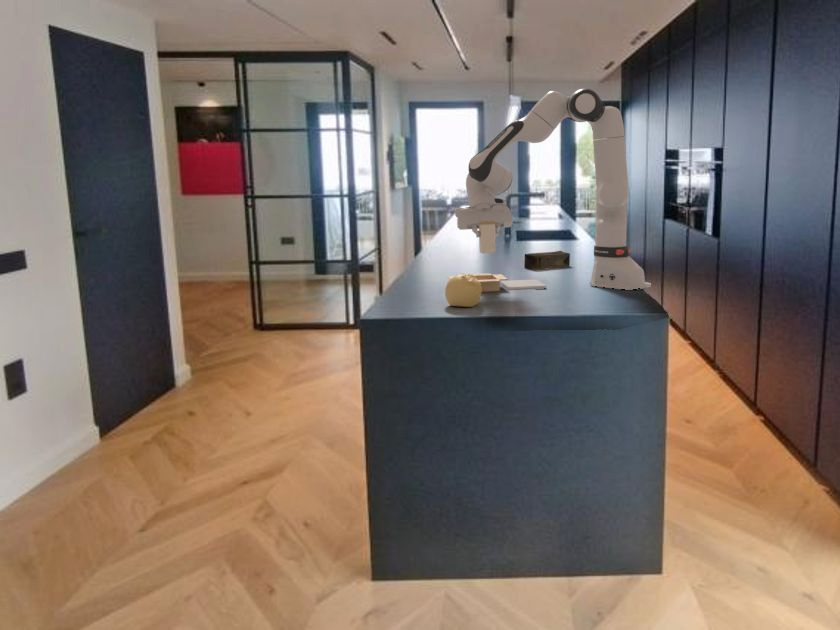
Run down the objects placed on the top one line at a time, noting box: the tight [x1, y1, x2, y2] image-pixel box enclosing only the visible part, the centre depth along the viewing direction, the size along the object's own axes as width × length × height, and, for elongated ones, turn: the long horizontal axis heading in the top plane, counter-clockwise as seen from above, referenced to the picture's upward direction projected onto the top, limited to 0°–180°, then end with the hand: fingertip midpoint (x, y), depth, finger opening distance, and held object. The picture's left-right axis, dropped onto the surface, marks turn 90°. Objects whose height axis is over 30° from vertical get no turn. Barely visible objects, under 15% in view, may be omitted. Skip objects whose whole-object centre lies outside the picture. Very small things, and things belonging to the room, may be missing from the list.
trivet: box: [500, 278, 547, 290], centre depth 279 cm, size 14×14×1 cm
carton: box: [447, 272, 509, 293], centre depth 273 cm, size 17×20×4 cm
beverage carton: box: [523, 250, 571, 271], centre depth 323 cm, size 8×19×7 cm, turn 116°
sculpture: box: [444, 272, 483, 308], centre depth 245 cm, size 11×12×11 cm
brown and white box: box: [478, 221, 497, 254], centre depth 271 cm, size 5×5×11 cm
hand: (487, 235), depth 270 cm, fingers closed on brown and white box, 5 cm apart
